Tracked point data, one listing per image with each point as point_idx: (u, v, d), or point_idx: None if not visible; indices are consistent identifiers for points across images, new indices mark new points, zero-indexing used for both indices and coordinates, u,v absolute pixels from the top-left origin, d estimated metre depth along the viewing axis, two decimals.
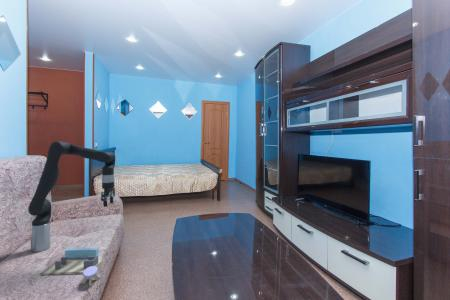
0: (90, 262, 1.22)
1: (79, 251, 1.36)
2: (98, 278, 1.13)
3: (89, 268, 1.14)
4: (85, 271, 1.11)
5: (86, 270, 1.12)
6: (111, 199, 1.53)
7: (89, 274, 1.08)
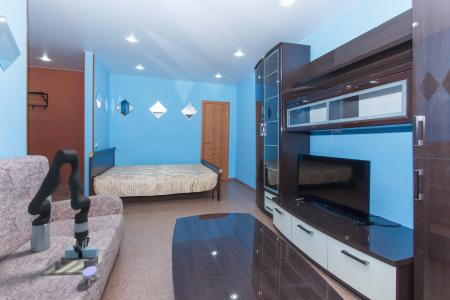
0: (90, 262, 1.22)
1: None
2: (97, 278, 1.13)
3: (88, 268, 1.14)
4: (84, 271, 1.11)
5: (85, 270, 1.12)
6: None
7: (88, 274, 1.08)
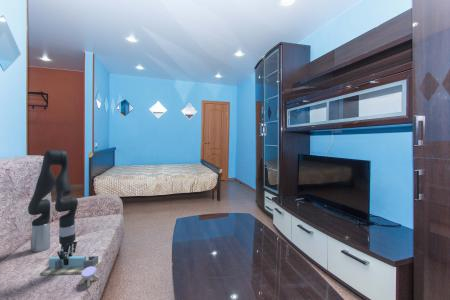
0: (90, 262, 1.22)
1: None
2: (96, 278, 1.13)
3: (87, 268, 1.14)
4: (83, 271, 1.11)
5: (84, 270, 1.12)
6: None
7: (87, 274, 1.08)
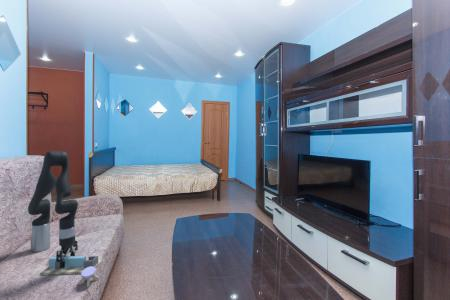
0: (90, 262, 1.22)
1: None
2: (96, 278, 1.13)
3: (87, 268, 1.14)
4: (83, 271, 1.11)
5: (84, 270, 1.12)
6: (72, 255, 1.28)
7: (87, 274, 1.08)
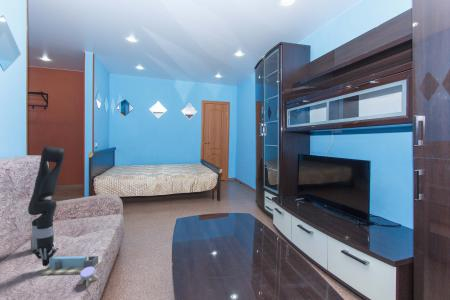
0: (90, 262, 1.22)
1: (65, 260, 1.23)
2: (95, 278, 1.13)
3: (86, 268, 1.14)
4: (82, 272, 1.11)
5: (83, 271, 1.12)
6: None
7: (86, 275, 1.08)
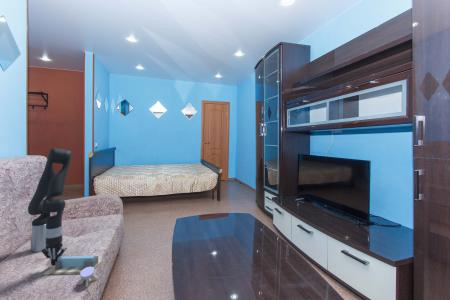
0: (90, 262, 1.22)
1: (73, 259, 1.23)
2: (95, 278, 1.13)
3: (86, 268, 1.14)
4: (82, 272, 1.11)
5: (83, 271, 1.11)
6: None
7: (86, 275, 1.08)
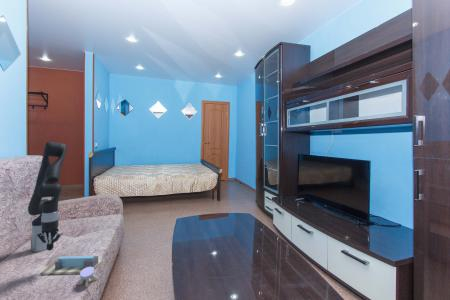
0: (90, 262, 1.22)
1: (73, 259, 1.23)
2: (94, 278, 1.13)
3: (86, 269, 1.14)
4: (82, 272, 1.11)
5: (83, 271, 1.11)
6: None
7: (86, 275, 1.08)
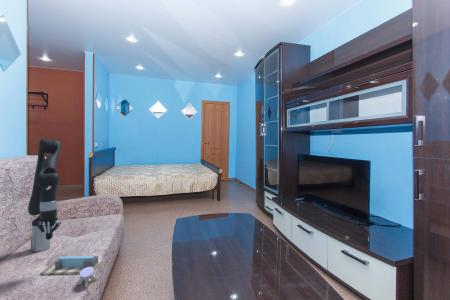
0: (90, 262, 1.22)
1: (73, 259, 1.23)
2: (94, 278, 1.12)
3: (85, 269, 1.13)
4: (81, 272, 1.10)
5: (82, 271, 1.11)
6: None
7: (85, 275, 1.08)
